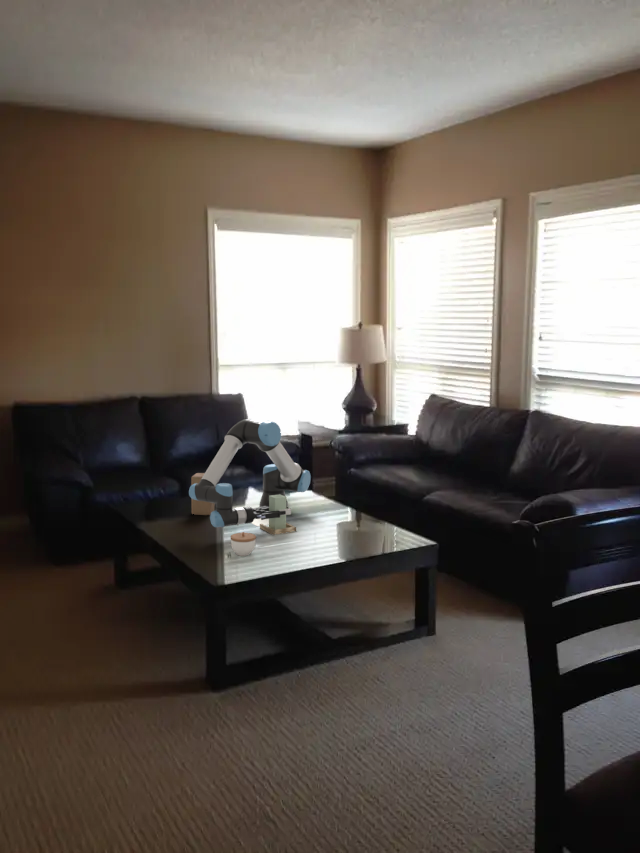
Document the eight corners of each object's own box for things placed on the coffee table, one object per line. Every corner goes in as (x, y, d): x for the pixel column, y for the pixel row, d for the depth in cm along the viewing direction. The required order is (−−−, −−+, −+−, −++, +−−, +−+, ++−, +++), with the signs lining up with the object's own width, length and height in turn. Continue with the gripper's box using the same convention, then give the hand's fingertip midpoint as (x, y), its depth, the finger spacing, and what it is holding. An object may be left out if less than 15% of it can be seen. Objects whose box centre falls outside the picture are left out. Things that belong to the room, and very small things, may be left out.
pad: (267, 518, 376) (267, 517, 376) (279, 524, 366) (279, 523, 366) (246, 521, 369) (246, 520, 369) (257, 527, 359) (257, 526, 359)
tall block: (279, 526, 359) (280, 494, 357) (285, 529, 354) (286, 497, 352) (268, 528, 356) (269, 495, 354) (274, 531, 351) (275, 498, 349)
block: (214, 511, 388) (215, 473, 385) (210, 515, 378) (210, 477, 376) (196, 510, 389) (196, 472, 386) (190, 515, 379) (190, 476, 377)
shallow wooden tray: (282, 525, 363) (282, 520, 363) (296, 532, 352) (296, 527, 352) (259, 529, 357) (259, 523, 356) (273, 536, 346) (273, 530, 345)
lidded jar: (260, 553, 319) (261, 532, 318) (241, 559, 311) (242, 537, 310) (244, 548, 326) (244, 527, 325) (225, 553, 319) (225, 532, 317)
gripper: (234, 518, 352) (277, 512, 365) (252, 528, 337) (297, 522, 349) (234, 503, 351) (277, 497, 364) (252, 512, 336) (297, 506, 348)
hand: (286, 509), depth 356 cm, fingers closed on tall block, 6 cm apart
